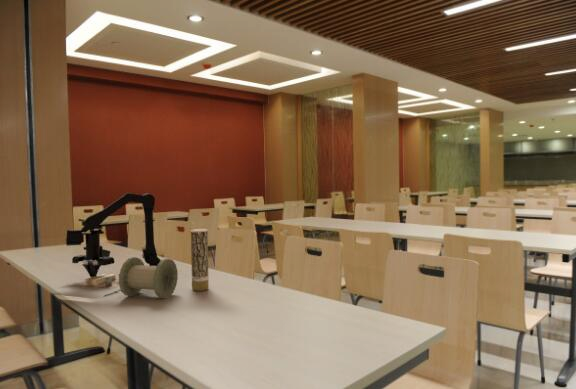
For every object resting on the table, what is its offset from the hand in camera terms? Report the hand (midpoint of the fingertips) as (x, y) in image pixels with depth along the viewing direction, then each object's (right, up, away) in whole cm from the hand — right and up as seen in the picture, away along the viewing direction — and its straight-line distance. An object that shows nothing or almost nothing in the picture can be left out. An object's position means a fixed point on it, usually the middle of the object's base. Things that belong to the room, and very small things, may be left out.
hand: (93, 279), depth 189 cm
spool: (+31, -3, -19) cm, 36 cm away
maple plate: (+4, -1, -1) cm, 4 cm away
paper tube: (+49, -2, -10) cm, 50 cm away
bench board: (+5, -3, -2) cm, 6 cm away
